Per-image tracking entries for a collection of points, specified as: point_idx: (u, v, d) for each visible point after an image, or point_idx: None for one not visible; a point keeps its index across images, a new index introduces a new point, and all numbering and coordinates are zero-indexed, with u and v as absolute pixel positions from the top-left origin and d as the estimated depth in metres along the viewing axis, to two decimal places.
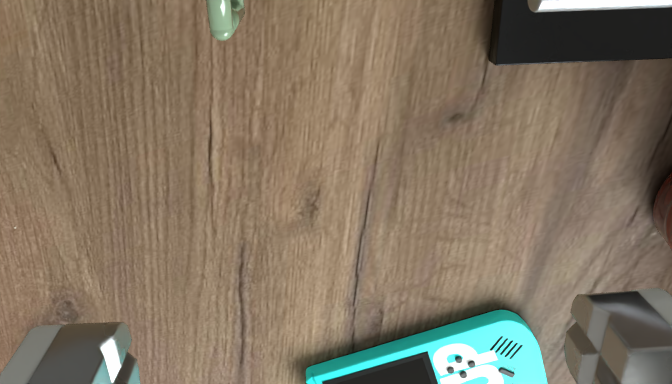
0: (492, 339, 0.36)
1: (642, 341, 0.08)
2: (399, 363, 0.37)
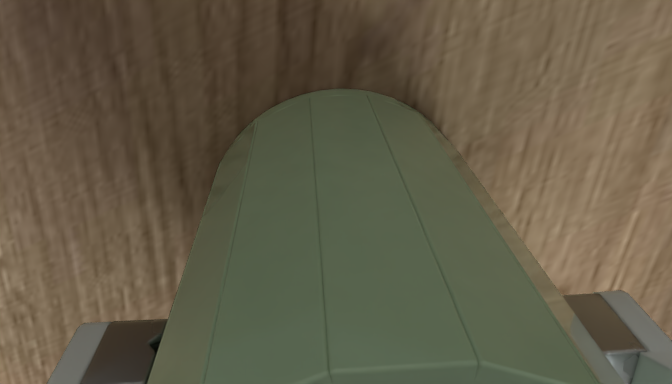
0: None
1: (598, 344, 0.08)
2: None
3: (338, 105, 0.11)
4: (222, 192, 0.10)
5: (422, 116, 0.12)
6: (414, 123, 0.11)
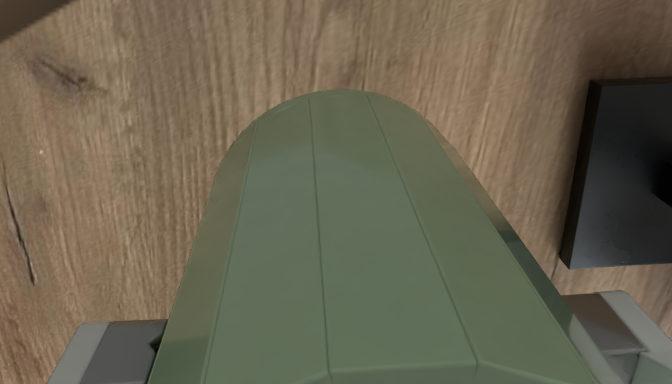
0: None
1: (598, 344, 0.08)
2: None
3: (338, 106, 0.11)
4: (222, 192, 0.10)
5: (422, 117, 0.12)
6: (414, 124, 0.11)
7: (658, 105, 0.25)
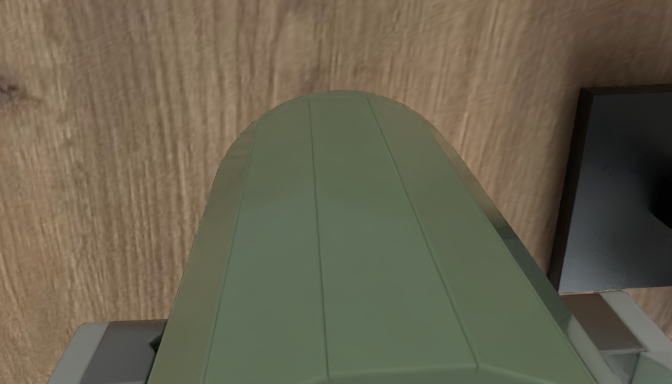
0: None
1: (598, 344, 0.08)
2: None
3: (338, 106, 0.11)
4: (222, 194, 0.10)
5: (422, 117, 0.12)
6: (414, 124, 0.11)
7: (656, 116, 0.23)
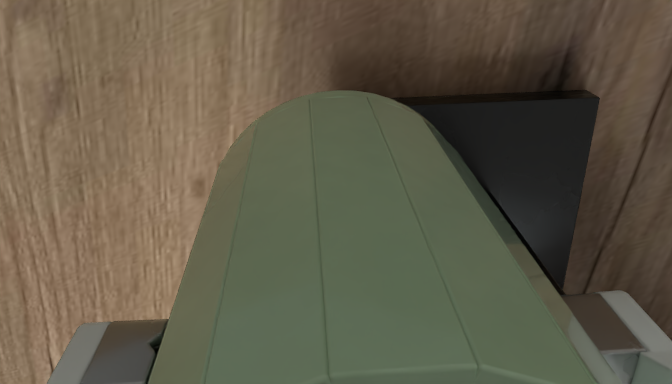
0: None
1: (599, 344, 0.08)
2: None
3: (338, 107, 0.11)
4: (222, 194, 0.10)
5: (422, 118, 0.12)
6: (414, 125, 0.11)
7: None
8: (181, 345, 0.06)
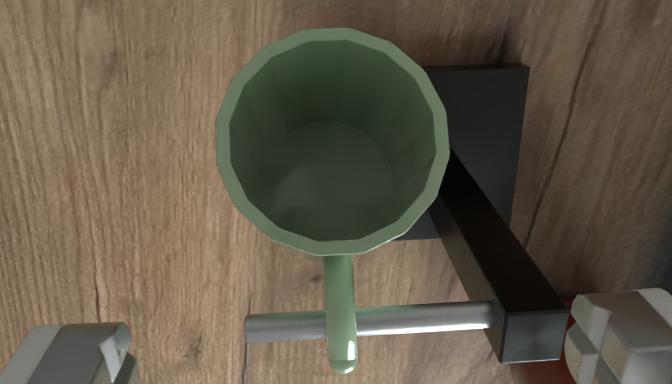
0: None
1: (642, 341, 0.08)
2: None
3: None
4: None
5: None
6: None
7: None
8: None
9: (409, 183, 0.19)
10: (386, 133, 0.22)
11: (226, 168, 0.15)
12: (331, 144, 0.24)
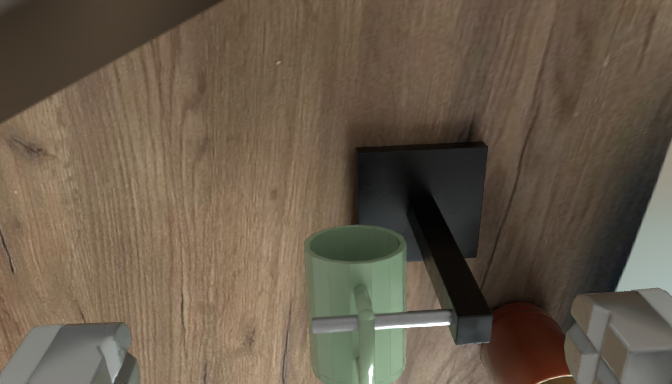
0: None
1: (642, 341, 0.08)
2: None
3: None
4: None
5: None
6: None
7: (395, 164, 0.41)
8: None
9: None
10: None
11: (308, 249, 0.34)
12: None
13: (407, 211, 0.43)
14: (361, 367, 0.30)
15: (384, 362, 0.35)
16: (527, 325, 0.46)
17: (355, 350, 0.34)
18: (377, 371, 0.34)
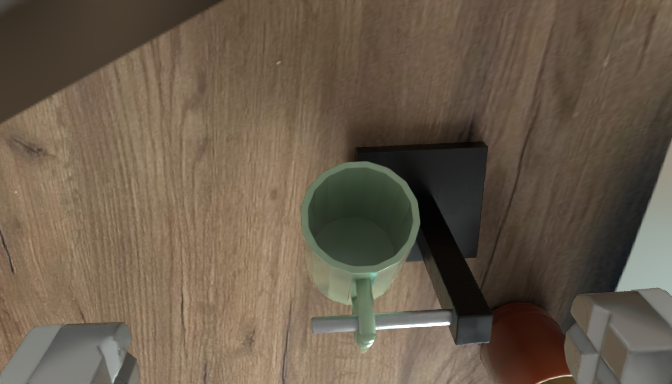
0: None
1: (642, 341, 0.08)
2: None
3: None
4: None
5: None
6: None
7: (395, 164, 0.41)
8: None
9: (402, 246, 0.34)
10: (388, 221, 0.37)
11: (307, 230, 0.30)
12: (354, 230, 0.39)
13: None
14: (358, 347, 0.32)
15: (378, 293, 0.36)
16: (527, 325, 0.46)
17: (352, 296, 0.34)
18: None
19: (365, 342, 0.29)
